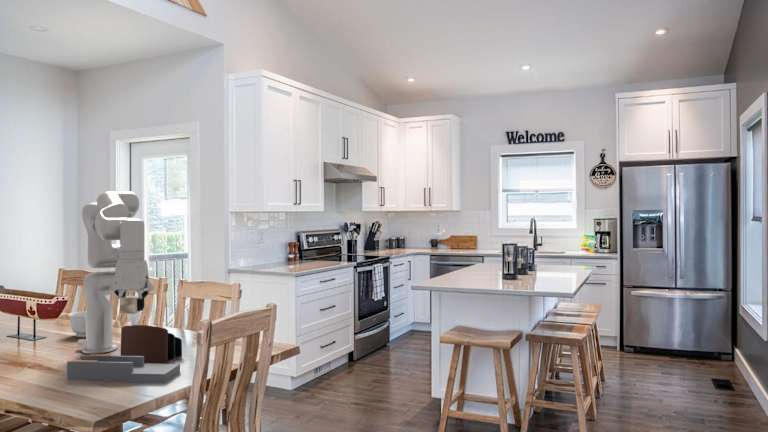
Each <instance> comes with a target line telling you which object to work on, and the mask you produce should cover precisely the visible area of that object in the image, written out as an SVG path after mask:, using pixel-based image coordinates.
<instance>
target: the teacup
mask: <svg viewBox="0 0 768 432" xmlns="http://www.w3.org/2000/svg"><path fill="white" fill-rule="evenodd" d="M67 316H68V318H69V320H70V321H69V322H70V328H71V331H72V332H73V333H74V334H75V337H79V338H83V337H85V338H86V310H83V311H82V310H81V311H75V312H70V313H68V314H67Z"/></svg>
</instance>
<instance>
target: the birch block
mask: <svg viewBox="0 0 768 432" xmlns="http://www.w3.org/2000/svg"><path fill="white" fill-rule="evenodd" d="M137 299H139V297H138V295H126V296H125V297H122V298H120V299H119V314H126V315H127V314H135V313H138V312H140V311H137ZM141 311H142V312H143V310H141Z"/></svg>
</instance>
